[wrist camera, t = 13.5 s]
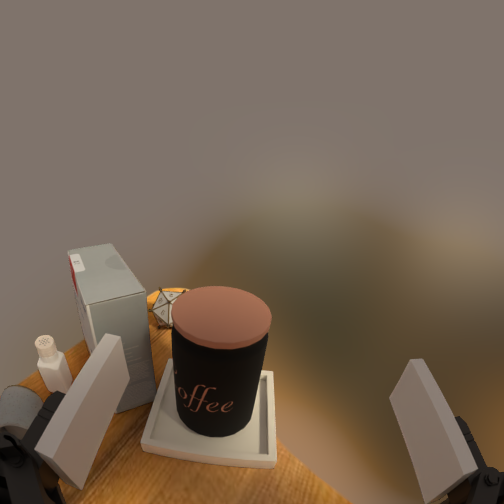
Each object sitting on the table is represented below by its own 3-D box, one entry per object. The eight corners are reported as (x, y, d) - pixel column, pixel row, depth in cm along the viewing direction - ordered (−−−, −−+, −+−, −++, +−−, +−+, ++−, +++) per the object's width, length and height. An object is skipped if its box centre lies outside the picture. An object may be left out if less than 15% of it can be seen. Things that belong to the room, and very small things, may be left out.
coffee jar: (161, 409, 36) (150, 305, 29) (212, 375, 44) (219, 276, 37) (217, 455, 30) (225, 359, 24) (266, 410, 39) (291, 311, 32)
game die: (163, 338, 58) (139, 296, 57) (197, 318, 61) (174, 277, 60) (168, 346, 50) (140, 298, 49) (207, 323, 53) (181, 275, 52)
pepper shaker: (74, 379, 38) (59, 334, 34) (69, 396, 34) (51, 352, 31) (54, 375, 37) (37, 331, 34) (47, 392, 34) (28, 348, 30)
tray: (270, 381, 46) (273, 371, 45) (273, 468, 30) (276, 461, 29) (169, 368, 45) (168, 358, 45) (143, 451, 30) (140, 442, 29)
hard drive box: (87, 352, 45) (67, 249, 37) (124, 342, 49) (113, 241, 42) (115, 416, 34) (84, 302, 26) (160, 400, 39) (149, 287, 31)
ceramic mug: (51, 411, 31) (33, 377, 28) (56, 456, 24) (33, 425, 21) (-3, 414, 25) (-25, 380, 23) (-4, 457, 19) (-32, 425, 16)
